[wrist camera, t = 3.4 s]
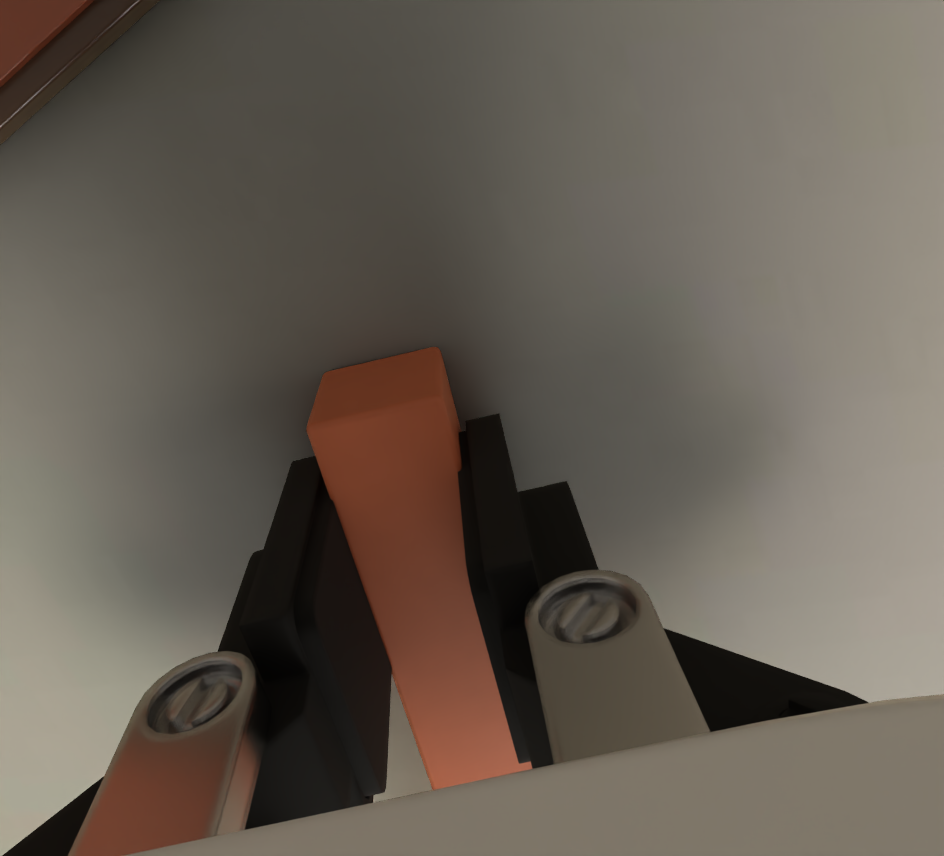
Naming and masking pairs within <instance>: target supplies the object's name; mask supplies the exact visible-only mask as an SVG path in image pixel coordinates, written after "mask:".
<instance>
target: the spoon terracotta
mask: <svg viewBox="0 0 944 856" xmlns="http://www.w3.org/2000/svg"><path fill="white" fill-rule="evenodd" d="M306 431H307V434H308V437H309V440H310V442H311V445H312V448H313V451H314V454H315V457H316V459H317V462H318V465H319V468H320V471H321V474H322V477H323V479H324V482H325V485H326V488H327V491H328V494H329V496H330V499H331V500H333V502H334V505H335V508H336V511H337V513H338V516H339V519H340V522H341V525H342V528H343V530H344V533H345V536H346V539H347V542H348V545H349V547H350V550H351V553H352V556H353V559H354V562H355V565H356V567H357V570H358V573H359V576H360V579H361V582H362V584H363V587H364V590H365V593H366V596H367V599H368V602H369V604H370V607H371V610H372V613H373V616H374V619H375V621H376V624H377V627H378V630H379V633H380V636H381V638H382V641H383V644H384V647H385V650H386V653H387V656H388V658H389V661H390V664H391V667H392V675H393V678H394V681H395V684H396V687H397V690H398V692H399V695H400V698H401V701H402V704H403V707H404V709H405V712H406V715H407V718H408V721H409V724H410V726H411V729H412V732H413V735H414V738H415V741H416V744H417V746H418V749H419V752H420V755H421V758H422V761H423V763H424V766H425V769H426V772H427V775H428V778H429V780H430V783H431V786H432V789H433V790H435V789H440V788H445V787H450V786H454V785H459V784H464V783H468V782H473V781H478V780H482V779H487V778H492V777H497V776H501V775H506V774H511V773H515V772H520V771H525V770H530V769H532V765H531V761H530V762H526V763H521V764H519V762H518V759H517V756H516V752H515V748H514V745H513V741H512V738H511V734H510V730H509V727H508V723H507V720H506V716H505V712H504V709H503V705H502V702H501V698H500V694H499V691H498V687H497V684H496V680H495V676H494V673H493V669H492V666H491V662H490V658H489V655H488V651H487V648H486V644H485V640H484V637H483V633H482V630H481V626H480V622H479V619H478V615H477V612H476V608H475V604H474V601H473V597H472V593H471V589H470V584H469V579H468V574H467V568H466V560H465V549H464V538H463V527H462V516H461V505H460V494H459V483H458V471H460V470H461V469H462V460H461V451H460V442H459V432H461V429H460V425H459V421H458V417H457V413H456V409H455V405H454V401H453V397H452V393H451V389H450V386H449V382H448V378H447V374H446V370H445V366H444V362H443V358H442V354H441V351H440V350H439V348H438V347H430V348H426V349H422V350H418V351H413V352H409V353H405V354H400V355H396V356H392V357H388V358H383V359H379V360H375V361H371V362H366V363H362V364H358V365H353V366H349V367H345V368H341V369H336V370H332V371H328V372H326V373H324V374H323V376H322V379H321V383H320V386H319V389H318V392H317V395H316V398H315V402H314V405H313V408H312V411H311V414H310V418H309V421H308V424H307V430H306Z"/></svg>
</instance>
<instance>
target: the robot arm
mask: <svg viewBox="0 0 944 856" xmlns="http://www.w3.org/2000/svg"><path fill="white" fill-rule="evenodd" d="M459 442H460V451H461V460H462V469H461V470H460V471H458V483H459V494H460V505H461V516H462V527H463V538H464V549H465V560H466V568H467V574H468V579H469V584H470V589H471V593H472V597H473V601H474V604H475V608H476V612H477V615H478V619H479V622H480V626H481V630H482V633H483V637H484V640H485V644H486V648H487V651H488V655H489V658H490V662H491V666H492V669H493V673H494V676H495V680H496V684H497V687H498V691H499V694H500V698H501V702H502V705H503V709H504V712H505V716H506V720H507V723H508V727H509V730H510V734H511V738H512V741H513V745H514V748H515V752H516V756H517V759H518V762H519V764H521V763H526V762H530V761H531V765H532V769H530V770H525V771H520V772H515V773H511V774H506V775H501V776H497V777H492V778H487V779H482V780H478V781H473V782H468V783H464V784H459V785H454V786H450V787H445V788H440V789H435V790H431V791H426V792H421V793H417V794H412V795H407V796H402V797H398V798H393V799H388V800H384V801H379V802H374V803H373V795H375V794H380V793H383V792H385V789H386V780H387V758H388V737H389V716H390V695H391V673H392V667H391V664H390V661H389V658H388V656H387V653H386V650H385V647H384V644H383V641H382V638H381V636H380V633H379V630H378V627H377V624H376V621H375V619H374V616H373V613H372V610H371V607H370V604H369V602H368V599H367V596H366V593H365V590H364V587H363V584H362V582H361V579H360V576H359V573H358V570H357V567H356V565H355V562H354V559H353V556H352V553H351V550H350V547H349V545H348V542H347V539H346V536H345V533H344V530H343V528H342V525H341V522H340V519H339V516H338V513H337V511H336V508H335V505H334V502H333V500H331V499H330V496H329V494H328V491H327V488H326V485H325V482H324V479H323V477H322V474H321V471H320V468H319V465H318V462H317V459H316V457H315V456H313V457H308V458H304V459H300V460H295V461H293V462H292V464H291V467H290V470H289V473H288V476H287V479H286V482H285V485H284V488H283V491H282V494H281V497H280V500H279V504H278V507H277V510H276V513H275V516H274V519H273V522H272V525H271V528H270V531H269V534H268V537H267V540H266V543H265V547H264V550H260V551H256V552H254V553H253V554H252V556H251V558H250V560H249V563H248V566H247V568H246V571H245V574H244V577H243V580H242V583H241V586H240V589H239V591H238V594H237V597H236V600H235V603H234V606H233V609H232V612H231V614H230V617H229V620H228V623H227V626H226V629H225V632H224V635H223V638H222V640H221V643H220V646H219V649H218V652H212V653H208V654H205V655H201V656H198V657H195V658H192V659H190V660H188V661H186V662H184V663H182V664H180V665H178V666H176V667H175V668H173V669H172V670H170V671H169V672H168V673H166V674H165V675H164V676H162V677H161V678H159V679H158V680H157V681H156V682H155V683H154V684H153V685H152V686H151V687H150V688H149V689H148V690H147V691H146V692H145V694H144V695H143V697H142V699H141V700H140V702H139V703H138V705H137V706H136V708H135V710H134V713H133V715H132V717H131V719H130V721H129V723H128V726H127V728H126V730H125V732H124V734H123V737H122V739H121V741H120V743H119V745H118V747H117V750H116V752H115V754H114V756H113V758H112V761H111V763H110V765H109V767H108V769H107V771H106V774H105V776H104V777H102V778H101V779H100V780H99V781H97V782H96V783H95V784H94V785H92V786H91V787H90V788H88V789H87V790H86V791H85V792H83V793H82V794H81V795H79V796H78V797H77V798H76V799H74V800H73V801H72V802H70V803H69V804H68V805H67V806H65V807H64V808H63V809H61V810H60V811H59V812H58V813H56V814H55V815H54V816H53V817H51V818H50V819H49V820H47V821H46V822H45V823H44V824H42V825H41V826H40V827H38V828H37V829H36V830H35V831H33V832H32V833H31V834H29V835H28V836H27V837H26V838H24V839H23V840H22V841H20V842H19V843H18V844H17V845H15V846H14V847H13V848H11V849H10V850H9V851H8V852H6V853H5V854H4V855H3V856H944V694H941V695H931V696H921V697H911V698H901V699H891V700H883V701H877V702H871V703H868V702H867V701H865V700H862V699H860V698H858V697H856V696H854V695H852V694H850V693H848V692H846V691H843V690H840V689H837V688H834V687H831V686H828V685H826V684H823V683H820V682H817V681H814V680H811V679H808V678H805V677H803V676H800V675H797V674H794V673H791V672H788V671H785V670H782V669H780V668H777V667H774V666H771V665H768V664H765V663H762V662H759V661H757V660H754V659H751V658H748V657H745V656H742V655H739V654H736V653H734V652H731V651H728V650H725V649H722V648H719V647H716V646H713V645H710V644H708V643H705V642H702V641H699V640H696V639H693V638H690V637H687V636H685V635H682V634H679V633H676V632H673V631H670V630H667V629H664V628H663V626H662V624H661V622H660V620H659V617H658V615H657V613H656V611H655V609H654V606H653V604H652V602H651V600H650V598H649V595H648V594H647V593H646V591H645V590H644V589H643V587H642V586H641V585H640V584H639V583H638V582H636V581H635V580H633V579H631V578H630V577H628V576H626V575H623V574H620V573H616V572H613V571H605V570H598V567H597V564H596V561H595V558H594V555H593V553H592V550H591V547H590V544H589V541H588V539H587V536H586V533H585V530H584V527H583V524H582V522H581V519H580V516H579V513H578V510H577V508H576V505H575V502H574V499H573V496H572V493H571V491H570V488H569V485H568V483H567V481H565V482H560V483H556V484H551V485H547V486H542V487H538V488H534V489H529V490H525V491H520V492H517V488H516V484H515V480H514V475H513V471H512V467H511V462H510V458H509V454H508V449H507V445H506V441H505V436H504V432H503V428H502V423H501V419H500V415H499V414H495V415H490V416H486V417H482V418H477V419H473V420H469V421H466V431H462V432H459Z"/></svg>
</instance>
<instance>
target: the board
mask: <svg viewBox="0 0 944 856" xmlns="http://www.w3.org/2000/svg"><path fill="white" fill-rule="evenodd" d="M159 1H160V0H0V145H1V144H2V143H3V142H4V141H5V140H6V139H8V138H9V137H10V136H11V135H12V134H13V133H14V132H15V131H16V130H17V129H19V128H20V127H21V126H22V125H23V124H24V123H25V122H26V121H27V120H28V119H30V118H31V117H32V116H33V115H34V114H35V113H36V112H37V111H38V110H40V109H41V108H42V107H43V106H44V105H45V104H46V103H47V102H48V101H49V100H51V99H52V98H53V97H54V96H55V95H56V94H57V93H58V92H59V91H60V90H62V89H63V88H64V87H65V86H66V85H67V84H68V83H69V82H70V81H71V80H73V79H74V78H75V77H76V76H77V75H78V74H79V73H80V72H81V71H83V70H84V69H85V68H86V67H87V66H88V65H89V64H90V63H91V62H92V61H94V60H95V59H96V58H97V57H98V56H99V55H100V54H101V53H102V52H103V51H105V50H106V49H107V48H108V47H109V46H110V45H111V44H112V43H113V42H115V41H116V40H117V39H118V38H119V37H120V36H121V35H122V34H123V33H124V32H126V31H127V30H128V29H129V28H130V27H131V26H132V25H133V24H134V23H135V22H137V21H138V20H139V19H140V18H141V17H142V16H143V15H144V14H145V13H147V12H148V11H149V10H150V9H151V8H152V7H153V6H154V5H155V4H156V3H158V2H159Z"/></svg>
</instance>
